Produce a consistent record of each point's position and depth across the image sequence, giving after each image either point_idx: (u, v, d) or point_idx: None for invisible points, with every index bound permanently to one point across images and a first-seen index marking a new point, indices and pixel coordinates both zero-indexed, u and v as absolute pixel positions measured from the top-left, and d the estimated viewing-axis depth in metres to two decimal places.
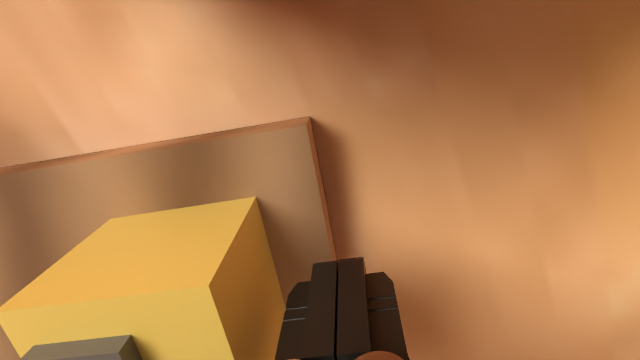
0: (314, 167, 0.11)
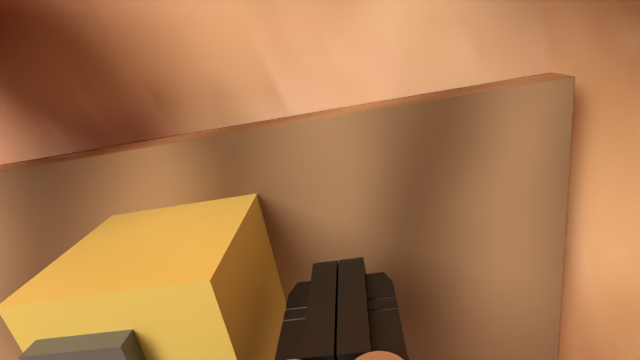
0: (569, 125, 0.11)
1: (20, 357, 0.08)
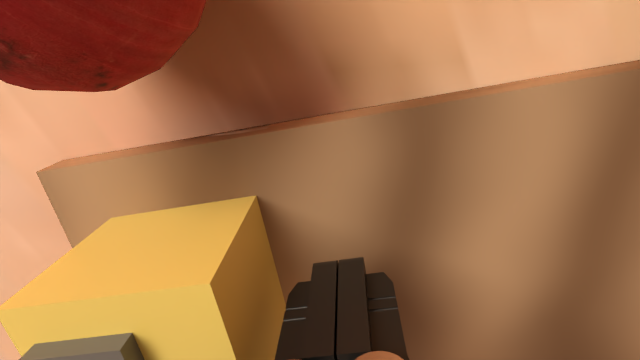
0: None
1: None
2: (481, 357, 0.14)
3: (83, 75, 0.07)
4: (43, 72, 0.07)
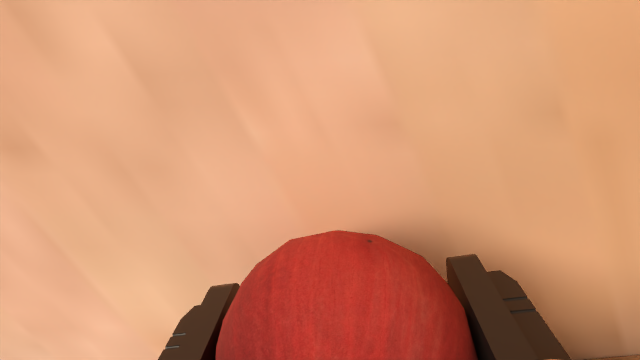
0: None
1: None
2: None
3: None
4: None
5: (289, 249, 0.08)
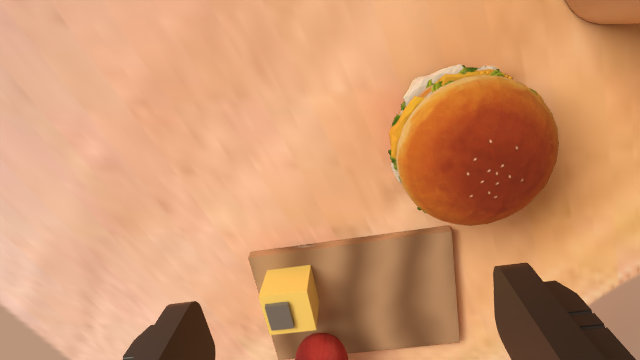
0: None
1: (265, 307, 0.38)
2: (380, 313, 0.43)
3: None
4: None
5: (309, 339, 0.41)
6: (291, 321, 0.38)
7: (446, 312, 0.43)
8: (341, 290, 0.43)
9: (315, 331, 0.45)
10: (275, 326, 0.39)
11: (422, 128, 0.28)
